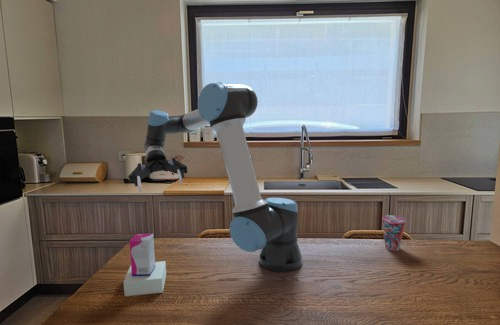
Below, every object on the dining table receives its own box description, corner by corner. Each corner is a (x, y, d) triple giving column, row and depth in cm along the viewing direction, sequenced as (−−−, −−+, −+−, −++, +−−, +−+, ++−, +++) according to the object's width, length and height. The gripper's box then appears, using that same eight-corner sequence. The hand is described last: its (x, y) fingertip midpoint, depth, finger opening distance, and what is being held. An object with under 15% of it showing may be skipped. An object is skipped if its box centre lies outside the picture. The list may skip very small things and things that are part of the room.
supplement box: (155, 266, 102) (154, 233, 101) (150, 276, 97) (148, 240, 95) (137, 266, 102) (135, 233, 101) (131, 276, 97) (128, 240, 95)
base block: (166, 274, 107) (165, 261, 106) (162, 293, 96) (161, 278, 95) (132, 278, 105) (131, 264, 104) (124, 297, 95) (123, 282, 94)
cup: (378, 242, 129) (379, 214, 127) (400, 243, 127) (402, 215, 125) (384, 253, 120) (386, 222, 117) (408, 254, 118) (410, 223, 116)
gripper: (188, 161, 130) (198, 187, 112) (124, 171, 123) (123, 201, 105) (186, 144, 126) (196, 169, 108) (120, 154, 119) (119, 182, 101)
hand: (160, 185), depth 107 cm, fingers open, 13 cm apart
